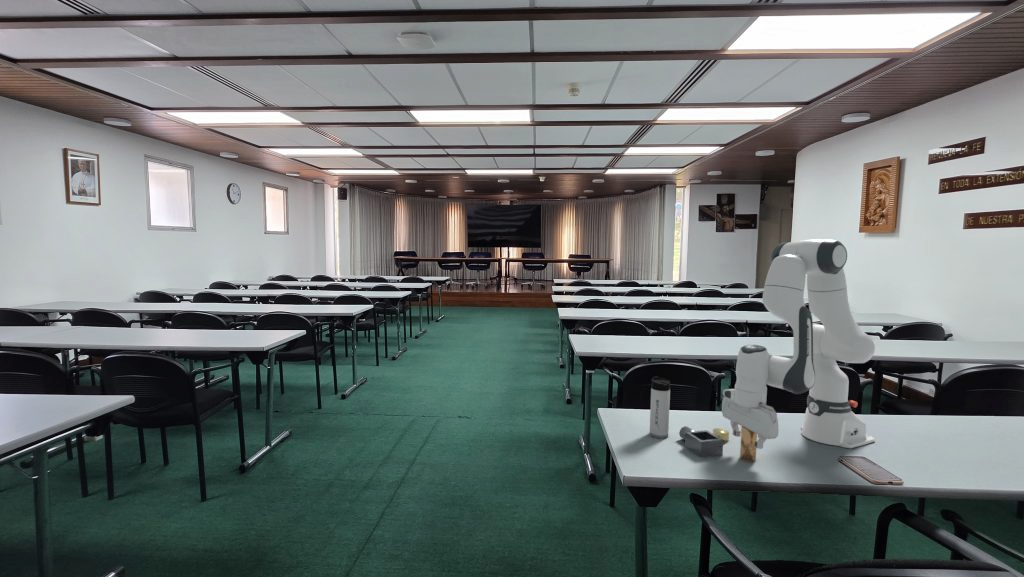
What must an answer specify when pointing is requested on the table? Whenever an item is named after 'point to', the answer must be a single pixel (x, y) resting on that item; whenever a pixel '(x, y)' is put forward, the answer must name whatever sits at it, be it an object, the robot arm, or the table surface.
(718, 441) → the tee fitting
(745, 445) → the copper brown cylinder
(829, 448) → the table surface
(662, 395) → the travel mug
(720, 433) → the brass round knob
